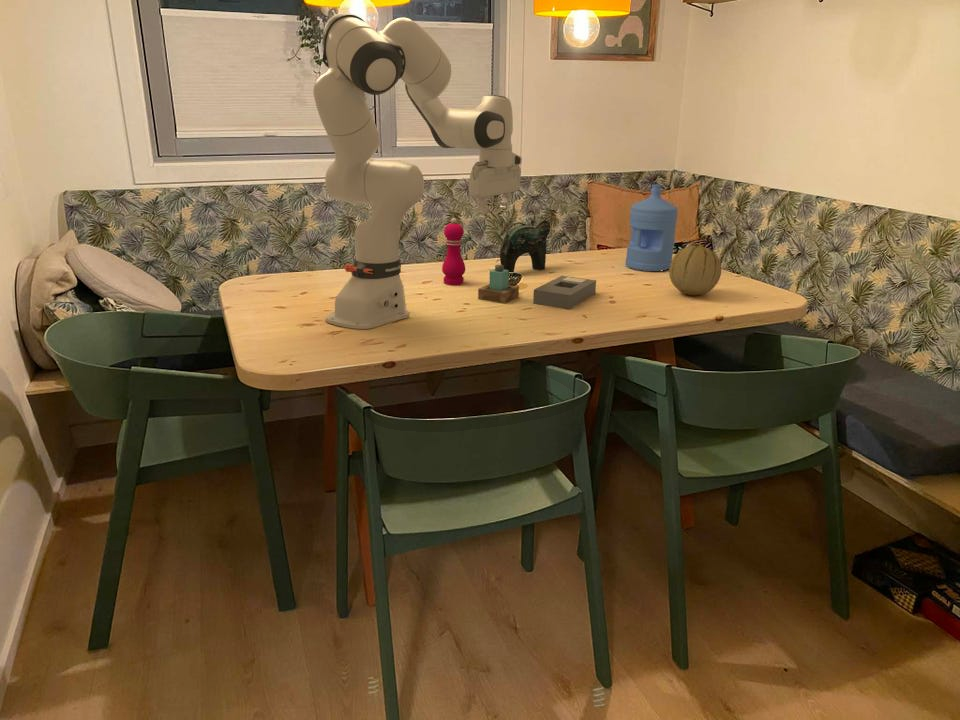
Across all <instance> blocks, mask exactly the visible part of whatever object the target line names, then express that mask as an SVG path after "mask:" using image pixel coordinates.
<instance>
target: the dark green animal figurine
mask: <svg viewBox="0 0 960 720" xmlns="http://www.w3.org/2000/svg"><path fill="white" fill-rule="evenodd" d="M529 213H532V214H533V218H531V217H530V218H528V219H529V220H530V222H529V224H526V223H523V222H515V223H513V224H511V225H509V226H508V227H507V230H506V233H505V235H504V237H503V240H502V242H501V245H500V248H499V249H500V250H499V261H500V265H504V270H509V272H514V273H515V268H516V263H517V260H518V259H519V257H520V256H522V255H524V254H529V257H530V259H531V267H532V270H536V271H541V270H546V260H547V259H546V257H547V238H548V236H549V234H550V233H551V223H550V221H548V220H547V219H545V217H544V215H542V214H541V215H540V217H539V218H536V213H535V212H534V210H528V211H527V212H526V213H525V216H528V215H529ZM515 225H518V226H515ZM513 226H514V227H513Z"/></svg>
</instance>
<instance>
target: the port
mask: <svg viewBox="0 0 960 720" xmlns="http://www.w3.org/2000/svg"><path fill="white" fill-rule="evenodd" d="M596 287H597V280H596V279H588V278H581V277H575V276H567V275H560V276H558V277H556V278H554V279H552V280H550V281H548V282H546V283H543V284H542V285H540V286H537V287H536V288H534V289H533V299H532V304H535V305H540V306H541V305H542V306H546V307H547V306H548V307H553V308H560V309H565V310H571V309H573V308H574V307H576V306H577V305H579V304H581V303H582V302H584V301H586V300H588V299H589V298H590V297H592V296H594V295H595V294H596V291H597V290H596Z"/></svg>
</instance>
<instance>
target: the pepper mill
mask: <svg viewBox="0 0 960 720" xmlns="http://www.w3.org/2000/svg"><path fill="white" fill-rule="evenodd" d="M457 221H458V220H457V218H455V217H452V218H451V220H450V223H448V224H446V225H445V227H444V230H443V235H444V237H445V238H446V239H445V244H446V246H447V247H446V248H447V249H446V256H445V258H444V260H443V262H442V265H441V267H442V268H441V271H442V273H443V274H444V276H443V284H445V285H448V286H462V285H463V284H464V281H465V280H464V279H465V278H464V276H463V275H464V274H465V272H466V265H465V262H464V259H463V257H462V254H461V246H462V245H463V242H462V241H463V239H462V237H463V236H464V234H465V231H464V228H463V225H462V224H459V223H458V222H457Z"/></svg>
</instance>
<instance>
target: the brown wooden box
mask: <svg viewBox="0 0 960 720" xmlns="http://www.w3.org/2000/svg"><path fill="white" fill-rule="evenodd" d="M477 290H478V291H477V293H478V294H477V295H478V297H477V299H478V300H482V301H487V302H488V301H489V302H495V303H501V304H506V303H508V302H511V301H513V300H515V299H517V298H519V297H520V296H519V293H520V291H519V290H520V286H516V285H511V284H508V289H506V290H504V291H499V290H492V289H489V284H486V285H484V286H481V287H479V288H478V289H477Z"/></svg>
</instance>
